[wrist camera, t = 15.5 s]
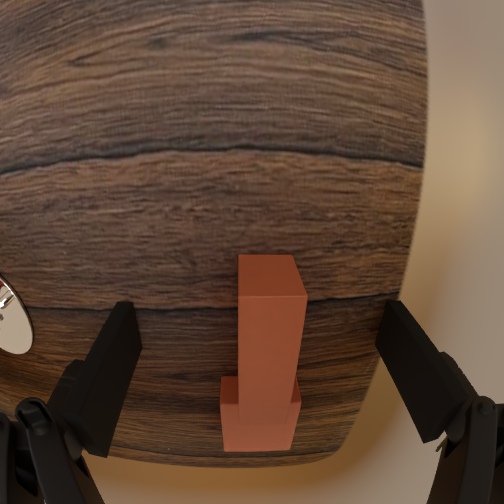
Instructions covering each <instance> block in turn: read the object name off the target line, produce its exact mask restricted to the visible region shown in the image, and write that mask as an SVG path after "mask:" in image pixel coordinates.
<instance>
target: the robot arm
mask: <svg viewBox="0 0 504 504" xmlns="http://www.w3.org/2000/svg"><path fill="white" fill-rule="evenodd" d="M375 346H376V348H377V350H378V352H379V354H380V356H381V358H382V359H383V361H384V363H385V365H386V367H387V369H388V371H389V373H390V375H391V377H392V379H393V381H394V383H395V385H396V387H397V389H398V391H399V393H400V395H401V397H402V399H403V401H404V403H405V405H406V407H407V409H408V411H409V413H410V415H411V418H412V420H413V422H414V424H415V426H416V428H417V430H418V433H419V435H420V437H421V439H422V442H423V443H427V442H430V441H433V440H436V439H438V438H439V437H440V435H441V434H442V433H443V432H444V430H445V432H446V434H447V436H446V438H445V439H444V440H443V441H442V442H441V444H440V445H439V446H438V447H437V449H436V452H438V451H439V450H440V448H441V447H442V451H441V455H440V459H439V463H438V467H437V471H436V474H435V478H434V481H433V485H432V488H431V491H430V495H429V498H428V501H427V504H504V404H495V402H494V401H493V400H491V399H490V398H488V397H486V396H479V395H478V394H477V392H476V391H475V389H474V388H473V386H472V385H471V383H470V382H469V381H468V379H467V378H466V376H465V375H464V374H463V372H462V370H461V369H460V368H458V365H457V363H456V362H455V361H454V359H453V358H452V357H450V356H449V355H448V354H447V353H445V352H439V351H438V350H437V348H436V347H435V345H434V344H433V343H432V341H431V340H430V339H429V337H428V336H427V335H426V333H425V332H424V330H423V329H422V328H421V326H420V325H419V324H418V322H417V321H416V320H415V319H414V317H413V316H412V315H411V313H410V312H409V311H408V309H407V308H406V307H405V306H404V304H403V303H402V302H401V301H388V302H387V305H386V309H385V312H384V316H383V319H382V323H381V326H380V329H379V332H378V336H377V339H376V342H375ZM141 350H142V344H141V340H140V335H139V331H138V327H137V322H136V318H135V313H134V308H133V303H131V302H117V303H116V305H115V307H114V309H113V310H112V312H111V314H110V315H109V317H108V319H107V321H106V322H105V324H104V326H103V328H102V330H101V331H100V333H99V335H98V337H97V339H96V340H95V342H94V344H93V346H92V348H91V350H90V351H89V353H88V355H87V357H86V359H85V361H83V360H77V359H75V360H74V361H73V362H72V363H70V364H69V365H68V366H67V367H66V369H65V371H64V373H63V374H62V378H60V380H59V382H58V385H57V386H56V388H55V389H54V391H53V393H52V395H51V397H50V399H49V401H48V403H47V405H46V404H45V403H44V401H42V400H41V399H40V398H36V397H30V398H26V399H24V400H22V401H21V402H20V403H19V404H18V405H17V407H16V409H15V417H16V418H17V419H18V421H19V422H15V421H10V420H9V418H8V417H7V416H6V415H5V414H3V413H0V504H45V503H44V500H45V502H46V504H105V503H104V501H103V499H102V497H101V495H100V494H99V491H98V489H97V487H96V485H95V483H94V480H93V478H92V476H91V474H90V472H89V469H88V467H87V465H86V462H85V460H84V458H83V456H82V455H81V453H82V450H83V447H84V448H85V449H86V450H87V452H88V453H89V454H92V455H96V456H100V457H104V458H107V456H108V452H109V449H110V445H111V442H112V438H113V435H114V431H115V428H116V425H117V422H118V418H119V415H120V412H121V409H122V406H123V403H124V400H125V397H126V394H127V390H128V388H129V385H130V382H131V379H132V376H133V373H134V370H135V367H136V364H137V361H138V359H139V356H140V353H141Z"/></svg>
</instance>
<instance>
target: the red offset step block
mask: <svg viewBox="0 0 504 504" xmlns="http://www.w3.org/2000/svg"><path fill="white" fill-rule="evenodd" d="M307 299H308V295H307V293H306V290H305V287H304V285H303V282H302V279H301V277H300V274H299V271H298V269H297V266H296V263H295V261H294V258H293V256H292V255H246V254H239V255H238V376H222V377H221V389H220V412H221V424H222V435H223V445H224V451H225V452H254V451H279V450H289V449H290V447H291V443H292V439H293V435H294V431H295V427H296V423H297V419H298V415H299V411H300V407H301V403H302V401H301V396H300V391H299V386H298V381H297V377H296V370H297V364H298V358H299V352H300V346H301V340H302V333H303V327H304V320H305V313H306V306H307Z"/></svg>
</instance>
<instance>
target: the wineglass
mask: <svg viewBox="0 0 504 504" xmlns="http://www.w3.org/2000/svg"><path fill="white" fill-rule="evenodd" d="M33 338H34V334H33V327H32V323H31V320H30V317H29V315H28V313H27V310H26V308H25V307H24V305H23V303H22V301H21V300H20V298H19V296H18V295H17V294H16V292H15V291H14V290H13V288H12V287H11V286H10V285H9V284H8V282H7V281H6V280H5V279H4V278H3V277H1V276H0V348H2V349H4V350H6V351H8V352H10V353H14V354H23V353H25V352H27V351H28V350H29V349H30V348H31V346H32V343H33Z"/></svg>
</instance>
